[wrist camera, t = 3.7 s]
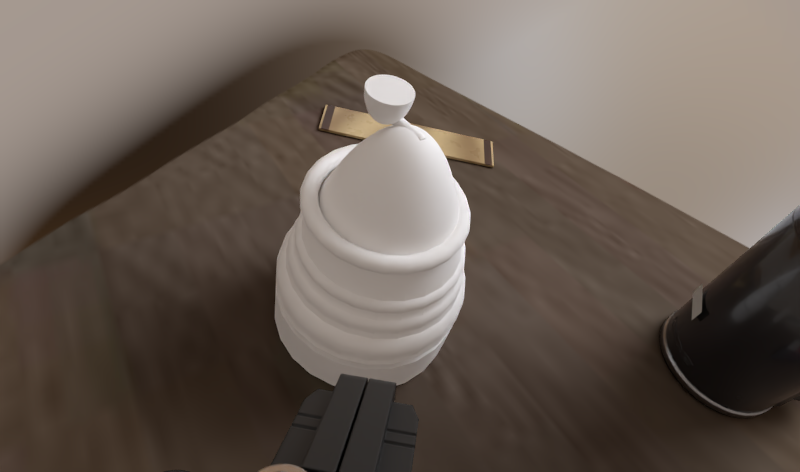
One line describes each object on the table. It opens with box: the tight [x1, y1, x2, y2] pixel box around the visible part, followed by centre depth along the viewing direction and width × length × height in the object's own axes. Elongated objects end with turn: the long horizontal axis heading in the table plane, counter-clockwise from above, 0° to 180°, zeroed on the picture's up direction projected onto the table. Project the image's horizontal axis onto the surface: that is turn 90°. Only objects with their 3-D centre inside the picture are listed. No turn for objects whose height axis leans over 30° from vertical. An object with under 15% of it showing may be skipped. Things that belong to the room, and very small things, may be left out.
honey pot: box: [275, 75, 471, 386], centre depth 31 cm, size 13×13×18 cm
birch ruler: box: [319, 105, 494, 168], centre depth 52 cm, size 18×4×1 cm, turn 85°
